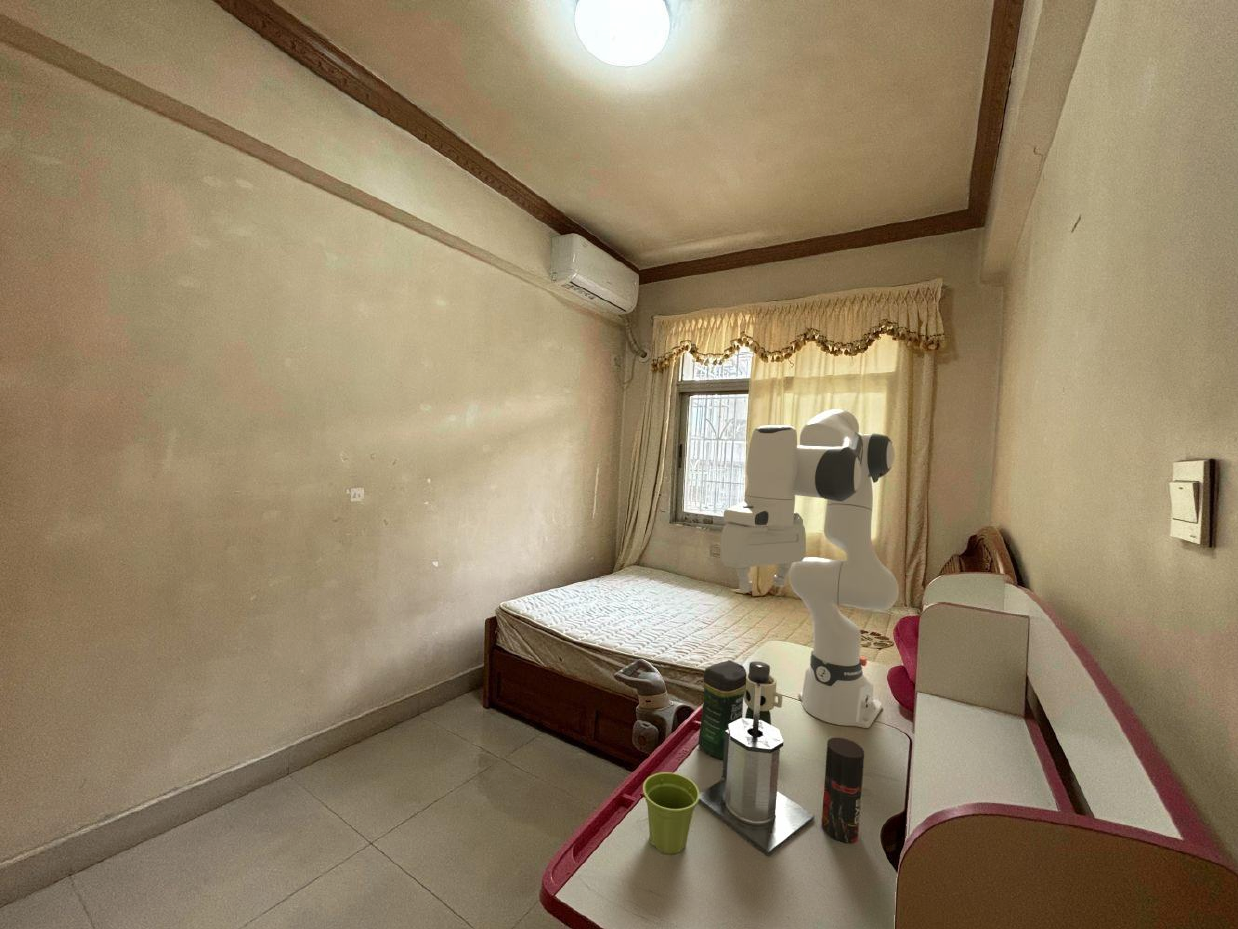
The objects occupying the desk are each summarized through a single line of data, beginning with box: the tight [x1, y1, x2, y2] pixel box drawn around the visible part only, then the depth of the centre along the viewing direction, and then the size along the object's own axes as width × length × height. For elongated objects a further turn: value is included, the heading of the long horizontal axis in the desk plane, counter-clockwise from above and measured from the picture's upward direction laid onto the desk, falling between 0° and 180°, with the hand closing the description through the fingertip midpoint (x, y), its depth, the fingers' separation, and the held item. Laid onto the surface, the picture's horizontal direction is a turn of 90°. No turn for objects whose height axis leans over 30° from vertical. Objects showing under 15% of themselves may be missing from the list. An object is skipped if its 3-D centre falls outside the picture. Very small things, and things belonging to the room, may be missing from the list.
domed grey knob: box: [748, 660, 771, 737], centre depth 91 cm, size 4×4×14 cm
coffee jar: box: [698, 659, 748, 760], centre depth 111 cm, size 10×8×19 cm
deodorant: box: [821, 737, 865, 845], centre depth 88 cm, size 6×6×15 cm
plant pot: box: [642, 771, 700, 855], centre depth 84 cm, size 9×9×9 cm
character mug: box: [743, 672, 783, 726], centre depth 118 cm, size 11×7×13 cm, turn 48°
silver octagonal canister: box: [698, 717, 815, 857], centre depth 92 cm, size 14×16×15 cm
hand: (762, 588), depth 92 cm, fingers open, 8 cm apart
